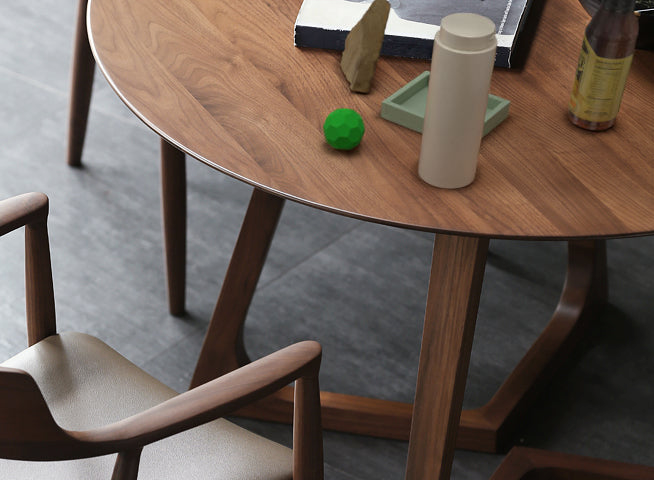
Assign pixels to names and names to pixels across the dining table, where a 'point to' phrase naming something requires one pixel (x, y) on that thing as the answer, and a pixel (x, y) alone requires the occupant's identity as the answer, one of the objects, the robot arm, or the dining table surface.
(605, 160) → the dining table surface
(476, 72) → the jar
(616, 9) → the sauce bottle
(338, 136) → the polyhedron
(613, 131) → the dining table surface
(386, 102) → the tray
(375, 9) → the rock
